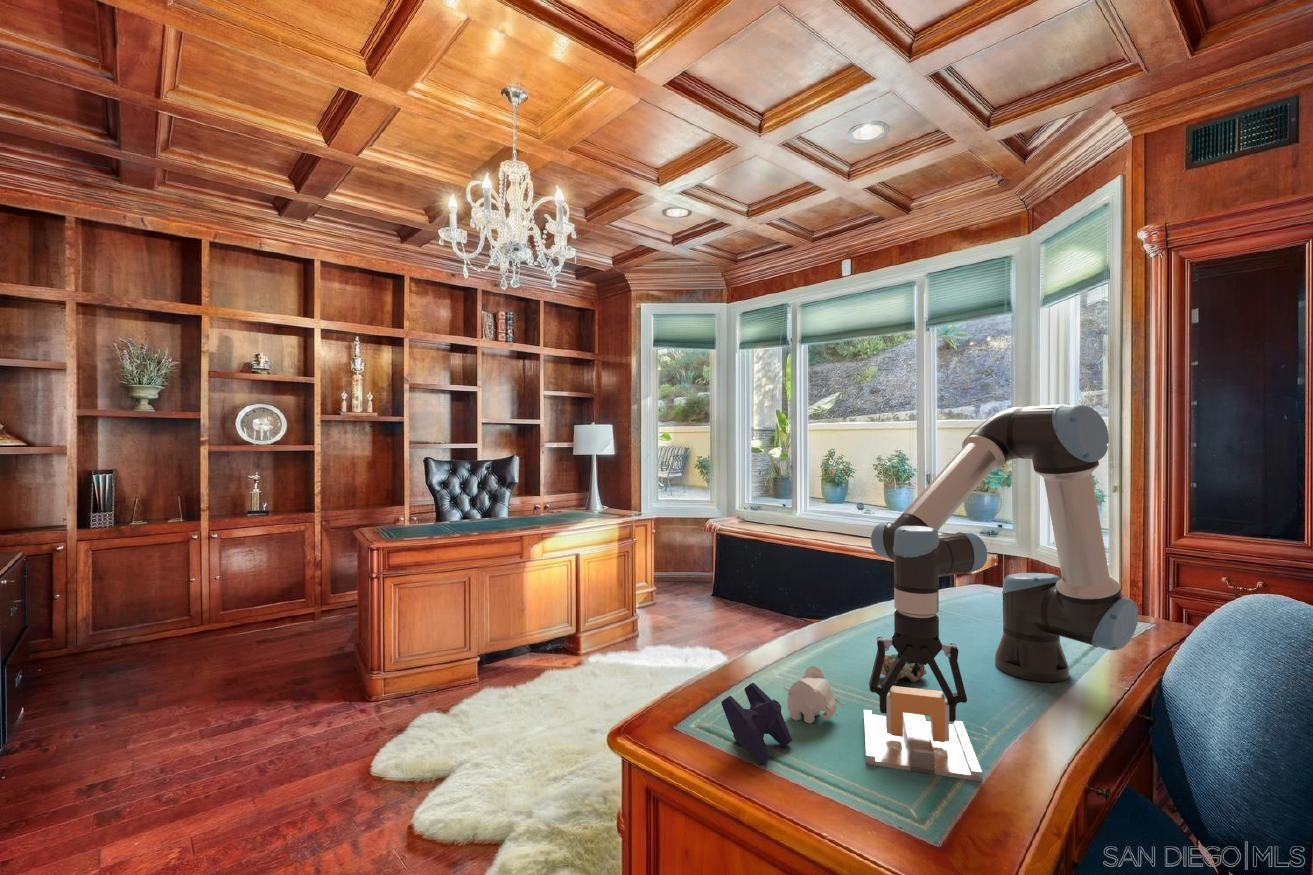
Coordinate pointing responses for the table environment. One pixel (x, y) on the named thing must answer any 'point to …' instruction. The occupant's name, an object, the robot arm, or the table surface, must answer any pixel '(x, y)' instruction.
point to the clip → (918, 709)
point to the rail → (920, 748)
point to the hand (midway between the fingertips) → (916, 733)
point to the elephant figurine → (811, 697)
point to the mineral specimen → (904, 669)
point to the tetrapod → (756, 722)
